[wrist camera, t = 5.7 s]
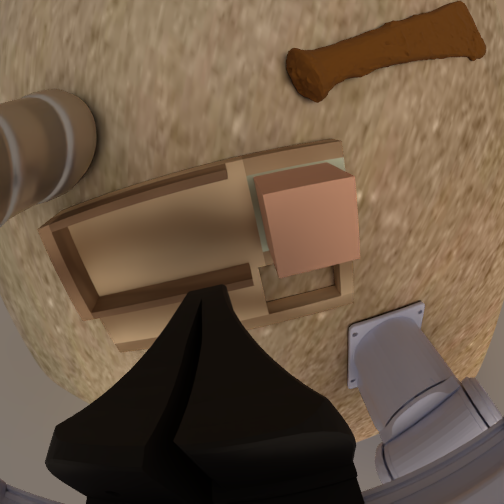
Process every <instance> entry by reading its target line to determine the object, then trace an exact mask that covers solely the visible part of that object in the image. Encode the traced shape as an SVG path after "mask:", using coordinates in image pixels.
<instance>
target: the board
mask: <svg viewBox="0 0 504 504" xmlns="http://www.w3.org/2000/svg"><path fill="white" fill-rule="evenodd" d="M325 162H328V163H330V164H332V165H334V166H336V167H338V168H339V169H341V170H343V171H345V164H344V155H343V148H342V141H339V140H335V139H328V140H321V141H315V142H309V143H303V144H298V145H292V146H287V147H281V148H276V149H271V150H266V151H261V152H256V153H252V154H247V155H243V156H238V157H234V158H230V159H225V160H221V161H217V162H213V163H209V164H205V165H201V166H197V167H194V168H190V169H186V170H182V171H179V172H175V173H172V174H168V175H165V176H161V177H158V178H155V179H151V180H148V181H145V182H142V183H138V184H135V185H132V186H129V187H126V188H123V189H120V190H117V191H114V192H111V193H108V194H105V195H102V196H99V197H97V198H94V199H91V200H88V201H86V202H83V203H80V204H78V205H75V206H72V207H70V208H67V209H65V210H62V211H60V212H59V213H58V214H56V215H55V216H54V217H53V218H51V219H50V220H49V221H47V222H46V223H45V224H44V225H42V226H41V227H40V228H39V229H37V230H38V232H39V235H40V237H41V239H42V242H43V244H44V246H45V248H46V251H47V253H48V255H49V257H50V259H51V262H52V264H53V266H54V268H55V270H56V272H57V274H58V276H59V278H60V280H61V282H62V284H63V286H64V288H65V290H66V292H67V293H68V295H69V297H70V299H71V301H72V303H73V304H74V306H75V308H76V310H77V312H78V313H79V315H80V317H81V318H82V320H83V321H86V320H92V319H97V318H100V320H101V322H102V323H103V325H104V327H105V329H106V330H107V332H108V334H109V335H110V337H111V339H112V340H113V342H114V343H115V345H116V347H117V348H118V350H119V351H120V352H128V351H135V350H142V349H148V348H150V347H151V346H152V344H153V343H154V342H155V340H156V339H157V338H158V336H159V335H160V334H161V332H162V331H163V330H164V328H165V327H166V325H167V324H168V322H169V321H170V319H171V318H172V316H173V315H174V313H175V312H176V310H177V309H178V307H179V305H180V304H181V302H182V301H183V299H184V298H185V296H186V295H187V293H188V292H189V291H193V290H198V289H202V288H207V287H211V286H215V285H220V284H223V285H225V286H226V287H227V290H228V293H229V297H230V300H231V303H232V306H233V310H234V312H235V313H236V315H237V317H238V318H239V320H240V322H241V323H242V325H243V326H244V327H245V329H246V330H249V329H254V328H258V327H263V326H267V325H271V324H275V323H280V322H284V321H288V320H292V319H296V318H300V317H304V316H308V315H311V314H315V313H319V312H323V311H326V310H330V309H334V308H337V307H341V306H344V305H348V304H351V303H354V290H353V260H352V261H348V262H344V263H340V264H336V265H333V268H334V282H335V285H333V286H329V287H326V288H322V289H318V290H314V291H310V292H306V293H302V294H298V295H294V296H290V297H286V298H282V299H278V300H274V301H270V302H266V299H265V295H264V291H263V286H262V282H261V277H260V273H259V269H258V267H262V266H267V265H271V264H274V262H273V259H272V257H271V254H270V251H269V248H268V245H267V240H266V235H265V231H264V226H263V221H262V216H261V211H260V207H259V202H258V197H257V192H256V188H255V183H254V178H253V177H255V176H259V175H264V174H269V173H273V172H278V171H283V170H288V169H293V168H298V167H303V166H309V165H314V164H320V163H325Z"/></svg>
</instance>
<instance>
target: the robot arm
mask: <svg viewBox="0 0 504 504" xmlns="http://www.w3.org/2000/svg"><path fill="white" fill-rule="evenodd" d="M424 308H425V305H424V303H423V302H418V303H415V304H413V305H410V306H407V307H404V308H401V309H399V310H396V311H393V312H390V313H387V314H384V315H381V316H378V317H375V318H372V319H369V320H365V321H362V322H359V323H356V324H353V325H351V326H350V327H349V336H348V382H347V386H348V388H349V389H352V388H355V387H358V389H359V391H360V394H361V396H362V398H363V400H364V403H365V405H366V407H367V409H368V412H369V414H370V416H371V419H372V421H373V423H374V425H375V427H376V428H377V430H378V431H379V434H380V437H381V439H382V441H383V442H382V443H380V444H379V445H378V447H377V449H376V456H375V466H376V471H377V474H378V476H379V479H380V481H381V482H382V485H380V486H377V487H375V488H372V489H369V490H366V491H363V492H361V490H360V487H359V484H358V481H357V478H356V477H357V472H356V468H355V466H354V463H353V458H354V452H355V448H356V441H355V437H354V435H353V433H352V431H351V429H350V428H349V426H348V424H347V423H346V421H345V420H344V419H343V417H342V416H341V415H340V413H339V412H338V411H337V410H336V408H335V407H334V406H333V405H332V403H331V402H330V401H329V400H328V399H327V398H326V397H324V396H323V395H321V394H319V393H318V392H316V391H314V390H313V389H311V388H309V387H308V386H306V385H305V384H303V383H302V382H300V381H299V380H298V379H296V378H295V377H294V376H292V375H291V374H289V373H288V372H287V371H286V370H285V369H284V368H282V367H281V366H280V365H279V364H278V363H277V362H275V361H274V360H273V359H272V358H271V357H270V356H269V355H268V354H267V353H266V352H265V351H264V350H263V349H262V348H261V347H260V346H259V345H258V344H257V343H256V341H255V340H254V339H253V338H252V337H251V335H250V334H249V333H248V331H247V330H246V329H245V327H244V326H243V325H242V323H241V322H240V320H239V318H238V317H237V315H236V313H235V312H234V310H233V306H232V303H231V300H230V297H229V293H228V290H227V287H226V286H225V285H223V284H220V285H215V286H211V287H207V288H202V289H198V290H193V291H189V292H188V293H187V295H186V296H185V298H184V299H183V301H182V302H181V304H180V305H179V307H178V309H177V310H176V312H175V313H174V315H173V316H172V318H171V319H170V321H169V322H168V324H167V325H166V327H165V328H164V330H163V331H162V332H161V334H160V335H159V336H158V338H157V339H156V340H155V342H154V343H153V344H152V346H151V347H150V348H149V349H148V351H147V352H146V353H145V354H144V355H143V357H142V358H141V359H140V360H139V361H138V362H137V363H136V364H135V365H134V366H133V367H132V369H131V370H130V371H129V372H127V373H126V374H125V375H124V376H123V377H122V378H121V379H120V380H119V381H118V382H117V383H116V384H115V385H114V386H112V387H111V388H110V389H109V390H108V391H107V392H105V393H104V394H103V395H102V396H100V397H99V398H98V399H97V400H95V401H94V402H92V403H91V404H90V405H88V406H87V407H86V408H84V409H83V410H81V411H80V412H78V413H76V414H75V415H74V416H72V417H70V418H68V419H67V420H65V421H64V422H62V423H60V424H58V425H57V426H56V427H55V430H54V433H53V436H52V440H51V443H50V446H49V450H48V453H47V457H46V460H45V464H46V467H47V468H48V470H49V471H50V472H51V473H52V474H53V475H54V476H55V477H57V478H58V479H59V480H61V481H62V482H64V483H65V484H67V485H68V486H70V487H72V488H73V489H75V490H77V491H79V492H80V493H82V494H83V495H85V496H87V500H86V504H504V417H503V416H502V415H501V413H500V412H499V410H498V409H497V407H496V406H495V404H494V403H493V401H492V400H491V398H490V397H489V396H488V394H487V393H486V391H485V390H484V389H483V387H482V386H481V385H480V383H479V382H478V381H477V380H476V378H468V377H465V378H464V379H463V380H462V381H461V382H462V383H461V382H460V381H459V380H458V379H457V378H456V377H455V375H454V374H453V372H452V371H451V369H450V368H449V367H448V365H447V364H446V362H445V361H444V360H443V358H442V357H441V356H440V354H439V353H438V352H437V350H436V349H435V347H434V346H433V345H432V343H431V342H430V341H429V339H428V338H427V337H426V336H425V334H424V333H423V332H422V330H421V324H422V319H423V313H424ZM353 333H354V334H353ZM0 504H63V503H60V502H56V501H52V500H49V499H46V498H43V497H40V496H37V495H34V494H31V493H28V492H26V491H23V490H20V489H18V488H15V487H13V486H10V485H8V484H6V483H5V482H4V481H3V480H1V479H0Z"/></svg>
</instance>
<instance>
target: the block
mask: <svg viewBox="0 0 504 504" xmlns="http://www.w3.org/2000/svg"><path fill="white" fill-rule="evenodd" d="M253 178H254V183H255V188H256V192H257V197H258V202H259V207H260V211H261V216H262V221H263V226H264V231H265V235H266V240H267V245H268V248H269V251H270V254H271V257H272V259H273V262H274V265H275V268H276V271H277V274H278V276H279V279H280V278H284V277H288V276H292V275H296V274H300V273H304V272H308V271H312V270H316V269H320V268H324V267H328V266H332V265H336V264H340V263H344V262H348V261H352V260H355V259H359V258H360V242H359V223H358V208H357V196H356V185H355V176H353V175H351V174H349V173H347V172H345V171H343V170H341V169H339V168H338V167H336V166H334V165H332V164H330V163H328V162H325V163H320V164H314V165H309V166H303V167H298V168H293V169H288V170H283V171H278V172H273V173H269V174H264V175H259V176H255V177H253Z"/></svg>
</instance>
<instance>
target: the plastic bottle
mask: <svg viewBox="0 0 504 504" xmlns="http://www.w3.org/2000/svg"><path fill="white" fill-rule="evenodd" d="M96 137H97V135H96V125H95V122H94V118H93V115H92V113H91V111H90V109H89V108H88V106H87V105H86V104H85V102H84V101H82V100H81V99H80V98H79V97H77V96H75V95H73V94H70V93H68V92H66V91H63V90H59V89H47V90H42V91H38V92H34V93H31V94H29V95H27V96H24V97H22V98H20V99H17V100H12V101H9V102H5V103H1V104H0V227H1V226H2V225H3V224H4V223H6V222H7V221H8V220H9V219H10V218H12V217H14V216H15V215H17V214H19V213H21V212H23V211H24V210H26V209H28V208H30V207H32V206H34V205H35V204H40V203H44V202H47V201H50V200H52V199H54V198H57V197H59V196H61V195H63V194H65V193H67V192H68V191H69V190H70V189H72V188H73V187H74V185H75V184H76V183H77V182H78V181H79V180H80V178H81V177H82V176H83V175H84V174H85V172H86V171H87V169H88V167H89V166H90V164H91V161H92V159H93V156H94V152H95V148H96Z"/></svg>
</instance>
